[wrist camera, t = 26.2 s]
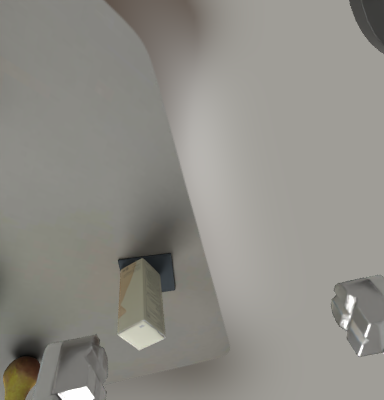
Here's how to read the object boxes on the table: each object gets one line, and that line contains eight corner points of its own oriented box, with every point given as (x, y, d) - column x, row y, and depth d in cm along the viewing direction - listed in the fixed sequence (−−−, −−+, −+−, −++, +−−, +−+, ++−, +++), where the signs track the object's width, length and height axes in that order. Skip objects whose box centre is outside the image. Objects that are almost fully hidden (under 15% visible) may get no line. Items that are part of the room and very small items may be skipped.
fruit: (12, 348, 54) (-18, 426, 44) (46, 352, 56) (25, 428, 46) (7, 366, 57) (-22, 444, 47) (41, 369, 59) (20, 445, 49)
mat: (170, 252, 48) (171, 254, 47) (174, 288, 52) (175, 290, 52) (118, 259, 47) (118, 261, 47) (126, 295, 51) (126, 296, 51)
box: (119, 269, 48) (114, 333, 38) (143, 256, 47) (143, 318, 38) (139, 288, 50) (139, 352, 41) (162, 276, 50) (166, 339, 40)
